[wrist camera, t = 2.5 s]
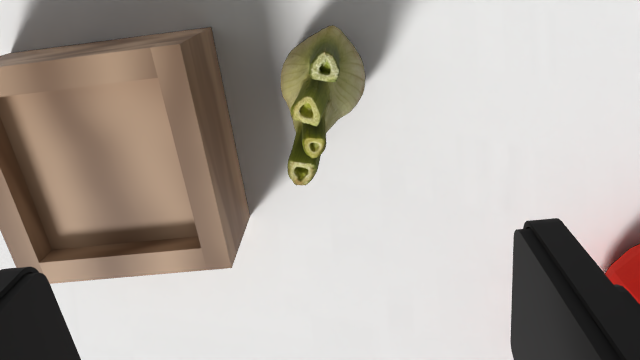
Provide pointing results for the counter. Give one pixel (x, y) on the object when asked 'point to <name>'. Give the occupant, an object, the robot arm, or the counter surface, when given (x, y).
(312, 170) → the fennel bulb
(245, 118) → the counter surface
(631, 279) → the tomato
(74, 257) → the open walnut box
